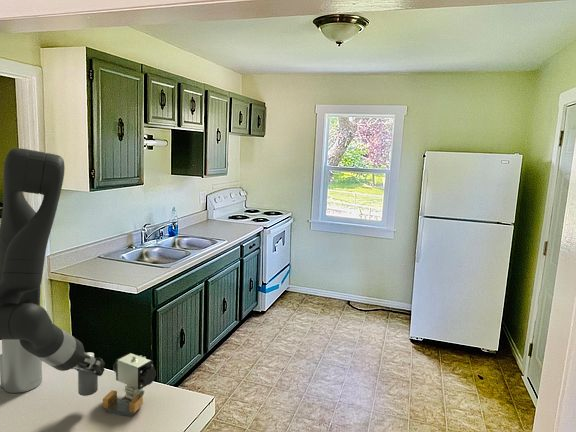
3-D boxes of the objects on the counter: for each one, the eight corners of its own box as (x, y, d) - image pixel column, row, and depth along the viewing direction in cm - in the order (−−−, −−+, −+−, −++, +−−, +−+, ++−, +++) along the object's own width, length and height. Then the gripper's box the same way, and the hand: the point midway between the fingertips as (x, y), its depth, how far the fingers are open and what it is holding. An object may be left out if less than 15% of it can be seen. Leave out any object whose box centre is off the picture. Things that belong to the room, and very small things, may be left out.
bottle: (74, 393, 106) (74, 357, 105) (86, 384, 111) (86, 349, 109) (90, 397, 105) (90, 360, 104) (101, 387, 110) (101, 352, 108)
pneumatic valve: (143, 407, 110) (143, 365, 108) (112, 394, 115) (112, 354, 113) (158, 397, 115) (158, 357, 113) (128, 385, 120) (128, 346, 118)
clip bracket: (102, 411, 107) (102, 399, 107) (112, 401, 112) (112, 389, 111) (133, 417, 106) (133, 404, 105) (143, 406, 110) (143, 394, 110)
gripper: (94, 337, 97) (123, 360, 110) (40, 328, 99) (75, 352, 113) (78, 370, 92) (111, 389, 106) (23, 360, 95) (61, 380, 108)
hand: (92, 370), depth 109 cm, fingers closed on bottle, 4 cm apart
